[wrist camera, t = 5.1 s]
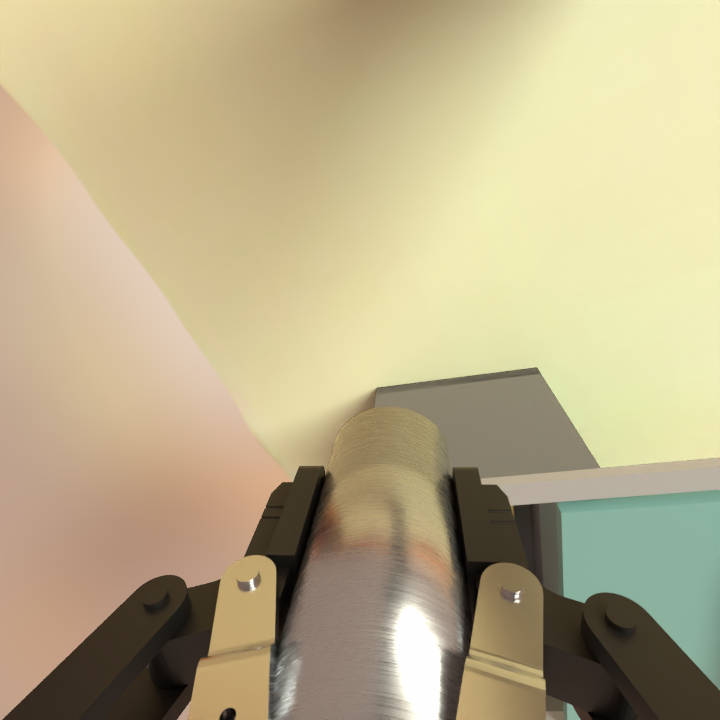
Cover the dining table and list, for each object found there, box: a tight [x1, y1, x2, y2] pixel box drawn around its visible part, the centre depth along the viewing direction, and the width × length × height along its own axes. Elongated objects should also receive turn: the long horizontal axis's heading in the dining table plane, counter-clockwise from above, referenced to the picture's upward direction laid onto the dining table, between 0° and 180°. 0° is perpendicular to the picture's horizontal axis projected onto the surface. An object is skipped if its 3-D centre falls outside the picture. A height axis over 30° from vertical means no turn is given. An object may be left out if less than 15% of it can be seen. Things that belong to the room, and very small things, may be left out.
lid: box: [556, 490, 720, 720], centre depth 21 cm, size 16×11×3 cm
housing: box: [374, 368, 720, 720], centre depth 28 cm, size 19×20×12 cm
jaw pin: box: [271, 406, 473, 720], centre depth 11 cm, size 4×4×9 cm
